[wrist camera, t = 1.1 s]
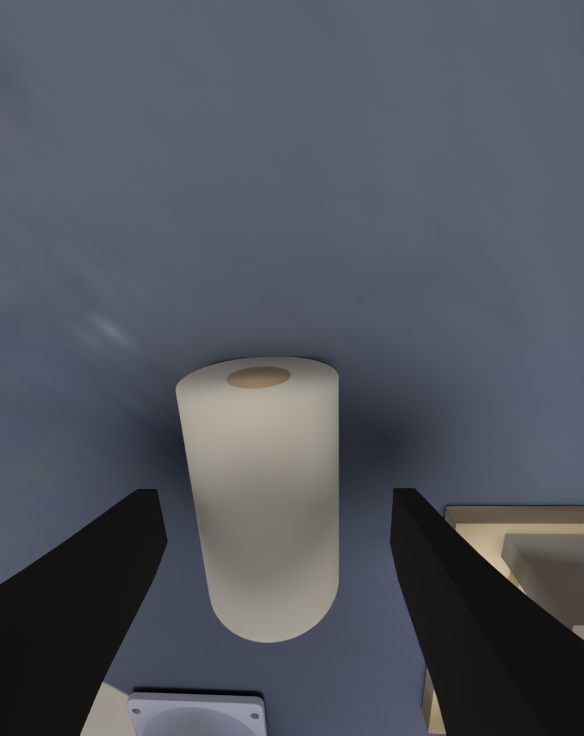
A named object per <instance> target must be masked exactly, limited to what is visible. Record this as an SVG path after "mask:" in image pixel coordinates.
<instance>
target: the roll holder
mask: <svg viewBox="0 0 584 736" xmlns="http://www.w3.org/2000/svg"><path fill="white" fill-rule="evenodd" d="M445 520H446V521H447V522H448V523H449V524H450V525H451V526H452V527H453V528H454V529H455V530H456V531H457V532H458V533H459V534H460V535H461V536H462V537H463V538H464V539H465V540H466V541H467V542H468V543H469V544H470V545H471V546H472V547H473V548H474V549H475V550H476V551H477V552H478V553H479V554H480V555H482V556H483V557H484V558H485V559H486V560H487V561H488V562H489V563H490V564H491V565H492V566H494V567H495V568H496V569H497V570H498V571H499V572H500V573H501V574H503V575H504V576H505V577H506V578H507V579H508V580H509V581H510V582H512V583H513V584H514V585H515V586H516V587H517V588H519V589H520V590H521V591H522V592H523V593H525V594H526V595H527V596H528V597H529V598H531V599H532V600H533V601H534V602H536V603H537V604H538V605H539V606H541V607H542V608H543V609H544V610H546V611H547V612H548V613H550V614H551V615H552V616H553V617H555V618H556V619H557V620H558V621H560V622H561V623H562V624H563V625H565V626H566V627H567V628H569V629H570V630H571V631H573V632H574V633H575V634H577V635H578V636H579V637H581V638H582V639H583V640H584V506H446V512H445ZM422 712H423V715H424V719H425V723H426V727H427V731H428V733H435V734H446V731H445V728H444V724H443V720H442V716H441V712H440V708H439V704H438V701H437V697H436V694H435V691H434V687H433V684H432V681H431V677H430V674H429V671H428V668H427V669H426V678H425V686H424V694H423V703H422Z"/></svg>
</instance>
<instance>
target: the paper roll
mask: <svg viewBox="0 0 584 736" xmlns="http://www.w3.org/2000/svg"><path fill="white" fill-rule="evenodd" d="M176 396H177V402H178V408H179V414H180V420H181V426H182V432H183V438H184V444H185V451H186V457H187V463H188V469H189V475H190V481H191V487H192V493H193V499H194V505H195V511H196V517H197V523H198V529H199V536H200V542H201V548H202V554H203V560H204V566H205V572H206V578H207V584H208V590H209V596H210V601H211V604H212V608H213V610H214V612H215V614H216V616H217V617H218V618H219V620H220V621H221V622H222V623H223V624H224V625H225V626H226V627H227V628H228V629H229V630H230V631H232V632H233V633H235V634H236V635H238V636H240V637H242V638H245V639H248V640H251V641H256V642H263V643H270V642H280V641H285V640H289V639H292V638H295V637H297V636H299V635H301V634H303V633H305V632H306V631H308V630H310V629H311V628H312V627H314V626H315V625H316V624H317V623H318V622H319V621H320V620H321V619H322V618H323V617H324V616H325V615H326V613H327V612H328V610H329V609H330V607H331V605H332V603H333V601H334V599H335V596H336V593H337V590H338V584H339V376H338V373H337V372H336V370H335V369H333V368H332V367H331V366H329V365H327V364H324V363H322V362H318V361H315V360H310V359H305V358H297V357H253V358H244V359H237V360H231V361H226V362H221V363H217V364H214V365H210V366H207V367H204V368H202V369H199V370H197V371H194V372H192V373H190V374H189V375H187V376H185V377H184V378H183V379H182V380H181V381H179V383H178V384H177V386H176Z"/></svg>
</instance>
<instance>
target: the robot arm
mask: <svg viewBox="0 0 584 736" xmlns="http://www.w3.org/2000/svg"><path fill="white" fill-rule="evenodd" d="M167 542H168V540H167V536H166V531H165V526H164V521H163V516H162V512H161V507H160V502H159V497H158V492H157V489H137V490H136V491H134V492H133V493H131V494H130V495H128V496H127V497H125V498H124V499H123V500H121V501H120V502H118V503H117V504H116V505H114V506H113V507H111V508H110V509H109V510H107V511H106V512H105V513H103V514H102V515H101V516H99V517H98V518H96V519H95V520H94V521H92V522H91V523H90V524H88V525H87V526H85V527H84V528H83V529H81V530H80V531H78V532H77V533H76V534H74V535H73V536H72V537H70V538H69V539H67V540H66V541H65V542H63V543H62V544H60V545H59V546H57V547H56V548H54V549H53V550H51V551H50V552H48V553H47V554H45V555H44V556H42V557H41V558H40V559H38V560H37V561H35V562H34V563H32V564H31V565H29V566H28V567H26V568H25V569H23V570H22V571H20V572H19V573H17V574H16V575H14V576H13V577H11V578H10V579H8V580H6V581H5V582H3V583H2V584H0V736H80V734H81V731H82V729H83V726H84V724H85V721H86V719H87V717H88V714H89V712H90V710H91V707H92V705H93V702H94V700H95V697H96V695H97V693H98V690H99V688H100V686H101V684H102V682H103V680H104V678H105V675H106V673H107V671H108V669H109V667H110V665H111V663H112V661H113V659H114V657H115V655H116V653H117V651H118V649H119V647H120V645H121V643H122V641H123V639H124V637H125V635H126V633H127V631H128V629H129V627H130V625H131V623H132V622H133V620H134V618H135V616H136V614H137V612H138V610H139V608H140V606H141V604H142V602H143V600H144V598H145V596H146V594H147V592H148V590H149V588H150V586H151V583H152V581H153V579H154V577H155V575H156V572H157V570H158V567H159V564H160V562H161V559H162V556H163V553H164V550H165V548H166V545H167ZM390 545H391V549H392V554H393V559H394V563H395V568H396V572H397V576H398V581H399V584H400V587H401V590H402V593H403V596H404V599H405V602H406V605H407V608H408V611H409V614H410V617H411V620H412V623H413V626H414V629H415V632H416V635H417V638H418V641H419V644H420V647H421V650H422V653H423V656H424V659H425V662H426V665H427V668H428V671H429V674H430V677H431V681H432V684H433V687H434V691H435V694H436V697H437V701H438V704H439V708H440V712H441V716H442V720H443V724H444V728H445V731H446V735H447V736H584V640H583V639H582V638H581V637H579V636H578V635H577V634H575V633H574V632H573V631H571V630H570V629H569V628H567V627H566V626H565V625H563V624H562V623H561V622H560V621H558V620H557V619H556V618H555V617H553V616H552V615H551V614H550V613H548V612H547V611H546V610H544V609H543V608H542V607H541V606H539V605H538V604H537V603H536V602H534V601H533V600H532V599H531V598H529V597H528V596H527V595H526V594H525V593H523V592H522V591H521V590H520V589H519V588H517V587H516V586H515V585H514V584H513V583H512V582H510V581H509V580H508V579H507V578H506V577H505V576H504V575H503V574H501V573H500V572H499V571H498V570H497V569H496V568H495V567H494V566H492V565H491V564H490V563H489V562H488V561H487V560H486V559H485V558H484V557H483V556H482V555H480V554H479V553H478V552H477V551H476V550H475V549H474V548H473V547H472V546H471V545H470V544H469V543H468V542H467V541H466V540H465V539H464V538H463V537H462V536H461V535H460V534H459V533H458V532H457V531H456V530H455V529H454V528H453V527H452V526H451V525H450V524H449V523H448V522H447V521H446V520H445V519H444V518H443V517H442V516H441V515H440V514H439V513H438V512H437V511H436V510H435V509H434V508H433V507H432V506H431V505H430V503H429V502H428V501H427V500H426V499H425V498H424V497H423V496H422V495H421V494H420V493H419V492H418V491H417V490H416V489H415V488H394V489H393V505H392V521H391V538H390ZM127 707H128V710H129V713H130V716H131V719H132V723H133V726H134V729H135V732H136V735H137V736H268V735H267V726H266V717H265V708H264V702H263V700H262V699H261V698H259V697H256V696H231V695H203V694H176V693H149V692H134V693H132V694H130V696H129V698H128V701H127Z"/></svg>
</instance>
